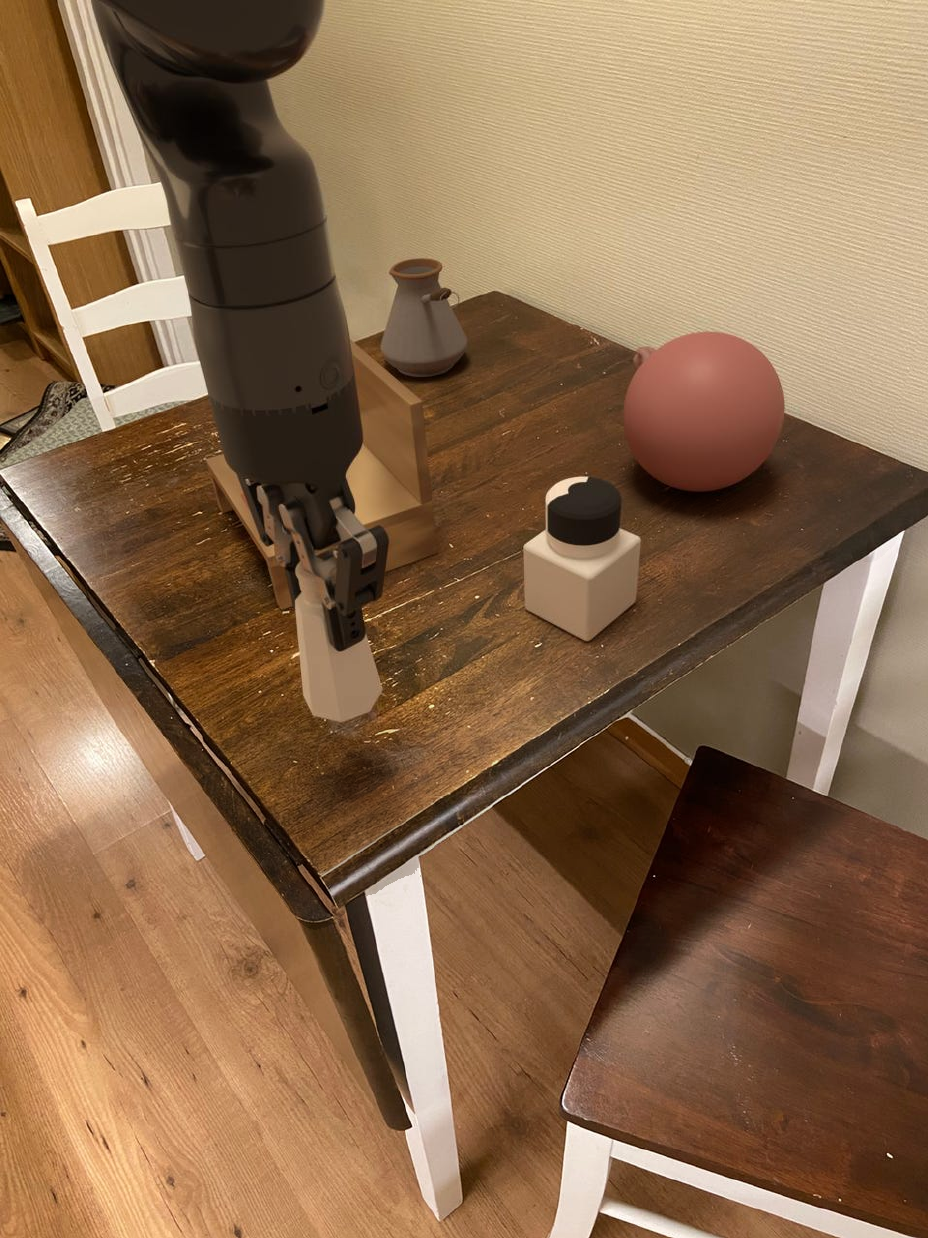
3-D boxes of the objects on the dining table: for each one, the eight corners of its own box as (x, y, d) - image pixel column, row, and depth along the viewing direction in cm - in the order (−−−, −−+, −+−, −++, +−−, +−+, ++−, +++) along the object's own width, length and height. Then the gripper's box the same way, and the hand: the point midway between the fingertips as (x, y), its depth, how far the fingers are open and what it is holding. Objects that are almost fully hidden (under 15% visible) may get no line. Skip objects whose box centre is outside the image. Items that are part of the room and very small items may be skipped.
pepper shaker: (383, 664, 62) (364, 535, 55) (382, 720, 58) (361, 588, 51) (306, 670, 62) (277, 541, 55) (300, 726, 58) (267, 595, 51)
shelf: (281, 610, 80) (241, 455, 70) (219, 508, 94) (178, 366, 83) (437, 553, 85) (422, 400, 75) (357, 464, 99) (334, 325, 89)
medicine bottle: (637, 602, 78) (647, 485, 70) (587, 644, 74) (592, 526, 66) (573, 571, 82) (575, 458, 74) (523, 609, 78) (520, 494, 70)
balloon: (705, 414, 103) (722, 281, 93) (800, 503, 88) (832, 356, 78) (581, 439, 100) (585, 305, 90) (657, 534, 85) (671, 386, 75)
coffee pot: (374, 355, 121) (359, 242, 111) (454, 340, 123) (447, 228, 113) (412, 424, 105) (399, 300, 95) (503, 406, 107) (499, 282, 98)
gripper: (154, 351, 48) (226, 598, 59) (284, 446, 39) (339, 715, 50) (276, 313, 51) (322, 553, 62) (421, 392, 42) (444, 656, 53)
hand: (329, 624), depth 56 cm, fingers closed on pepper shaker, 4 cm apart
